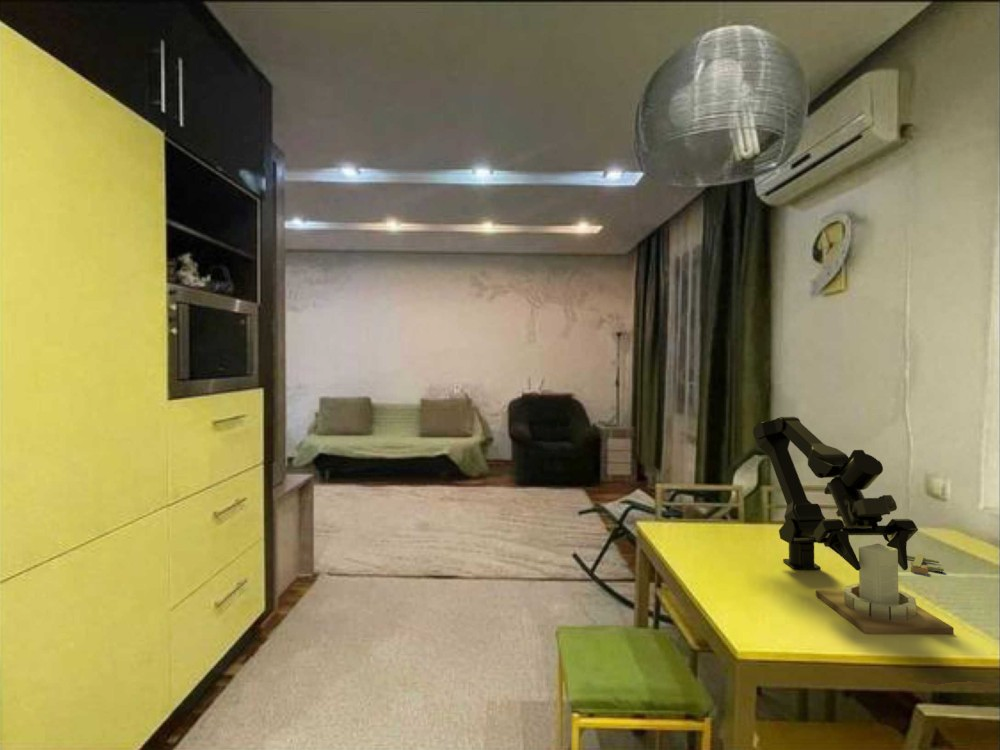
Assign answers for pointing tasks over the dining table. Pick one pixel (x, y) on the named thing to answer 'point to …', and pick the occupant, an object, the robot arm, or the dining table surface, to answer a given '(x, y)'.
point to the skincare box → (879, 574)
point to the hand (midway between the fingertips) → (882, 569)
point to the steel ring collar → (880, 605)
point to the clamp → (923, 569)
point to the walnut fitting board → (872, 625)
